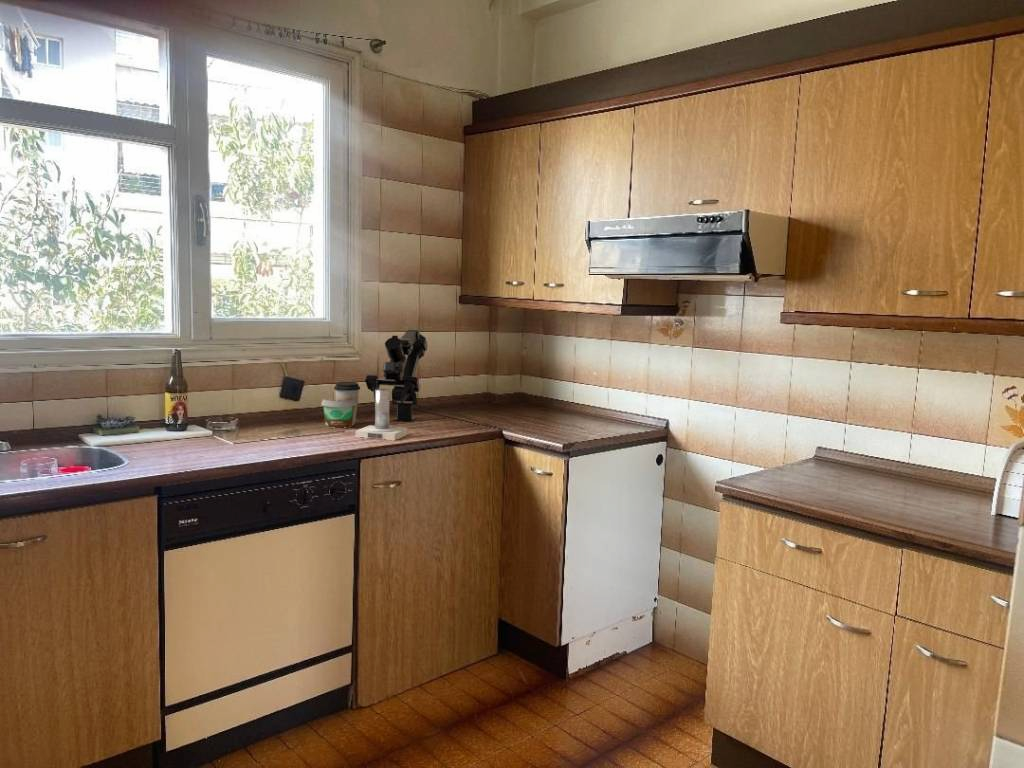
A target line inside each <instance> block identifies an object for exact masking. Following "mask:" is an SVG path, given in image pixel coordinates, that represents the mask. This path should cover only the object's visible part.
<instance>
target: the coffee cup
mask: <svg viewBox="0 0 1024 768" xmlns="http://www.w3.org/2000/svg"><path fill="white" fill-rule="evenodd" d="M333 390H335V391H334V392H335V396H334V398H335V401H336V400H342V401H349V400H354V399H355V400H356V405H355V406H354V414H353V423H352V424H354V425H356V419H357V418H356V417H357V411H358V404H359V391H360V390H361V386H360V385H359V383H358V382H353V381H341V382H336V384H335V386H334V387H333Z"/></svg>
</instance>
